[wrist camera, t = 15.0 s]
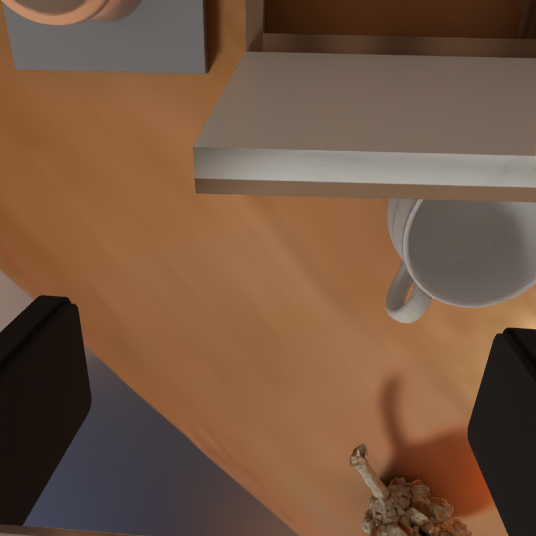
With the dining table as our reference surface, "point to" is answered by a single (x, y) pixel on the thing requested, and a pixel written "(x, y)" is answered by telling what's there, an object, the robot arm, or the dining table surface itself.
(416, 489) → the pine cone
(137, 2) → the terracotta pot
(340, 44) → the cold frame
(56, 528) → the robot arm
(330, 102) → the frame lid
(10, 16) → the slate tile
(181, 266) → the dining table surface
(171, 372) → the dining table surface
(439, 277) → the teacup
